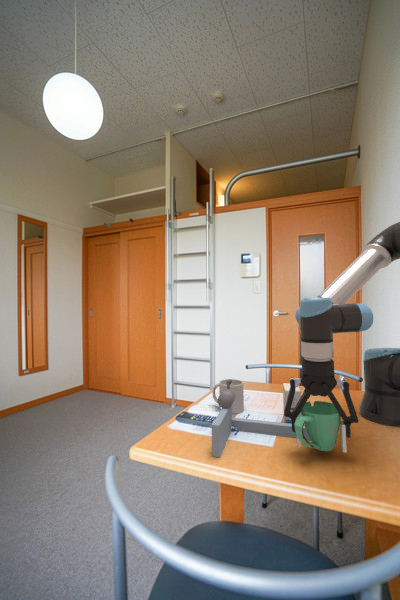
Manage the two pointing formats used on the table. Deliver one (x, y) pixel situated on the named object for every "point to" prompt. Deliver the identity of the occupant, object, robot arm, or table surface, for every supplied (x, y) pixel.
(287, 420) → the ink box
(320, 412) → the mug
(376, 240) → the robot arm
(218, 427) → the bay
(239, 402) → the mug
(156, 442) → the table surface
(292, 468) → the table surface
